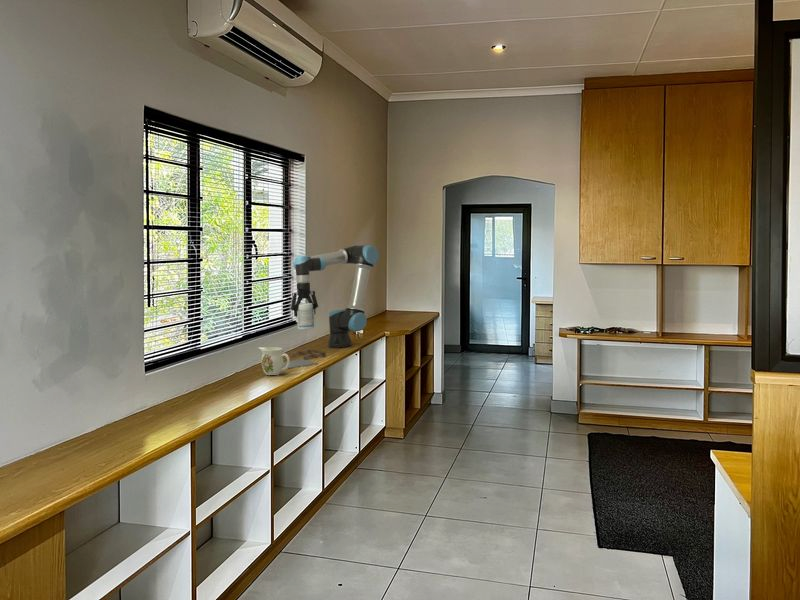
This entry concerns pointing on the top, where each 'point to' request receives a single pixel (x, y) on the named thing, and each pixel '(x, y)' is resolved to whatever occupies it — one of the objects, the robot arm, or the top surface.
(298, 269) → the robot arm
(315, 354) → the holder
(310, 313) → the supplement tub
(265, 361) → the pitcher
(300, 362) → the pad
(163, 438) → the top surface
